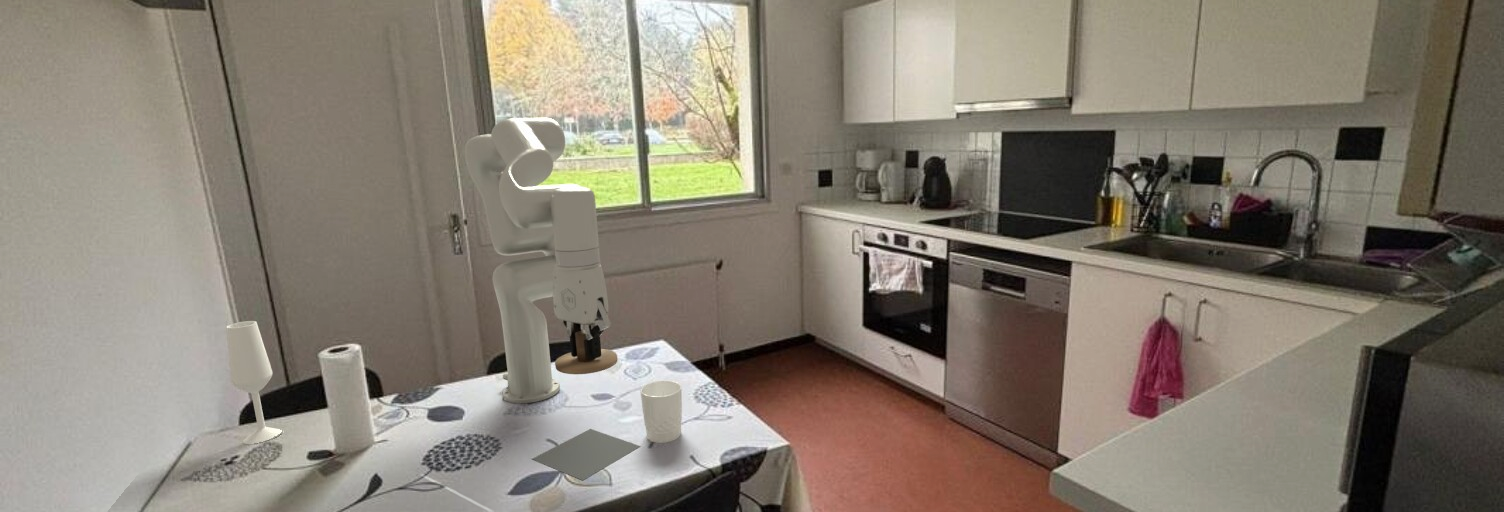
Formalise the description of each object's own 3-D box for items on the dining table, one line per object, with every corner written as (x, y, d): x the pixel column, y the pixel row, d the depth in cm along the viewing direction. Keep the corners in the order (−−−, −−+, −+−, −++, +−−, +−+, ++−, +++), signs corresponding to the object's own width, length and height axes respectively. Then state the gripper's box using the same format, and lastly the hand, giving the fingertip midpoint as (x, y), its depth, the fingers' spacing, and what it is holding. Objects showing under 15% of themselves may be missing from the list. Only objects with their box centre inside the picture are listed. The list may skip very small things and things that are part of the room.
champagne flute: (281, 438, 128) (260, 325, 124) (240, 447, 125) (216, 331, 121) (285, 426, 134) (265, 317, 130) (245, 434, 131) (223, 323, 126)
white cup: (676, 447, 120) (673, 397, 118) (637, 444, 121) (634, 395, 119) (689, 428, 127) (686, 381, 125) (652, 425, 129) (649, 379, 127)
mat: (531, 460, 116) (531, 458, 116) (590, 430, 127) (590, 428, 127) (582, 482, 108) (582, 480, 108) (640, 448, 120) (640, 446, 120)
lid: (542, 366, 114) (539, 336, 113) (590, 349, 123) (587, 320, 122) (583, 378, 108) (580, 346, 106) (630, 359, 116) (627, 329, 115)
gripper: (531, 257, 113) (541, 354, 117) (592, 266, 104) (601, 371, 107) (565, 250, 119) (573, 343, 123) (626, 258, 110) (633, 358, 113)
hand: (586, 355), depth 115 cm, fingers closed on lid, 3 cm apart
